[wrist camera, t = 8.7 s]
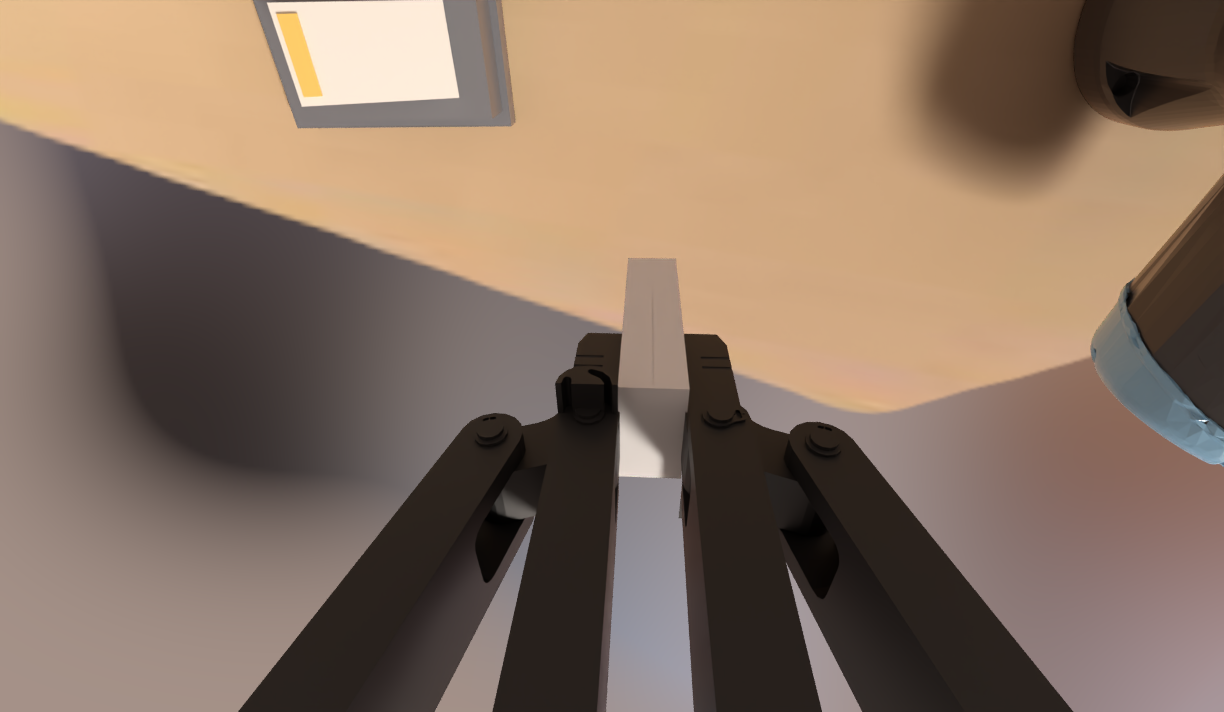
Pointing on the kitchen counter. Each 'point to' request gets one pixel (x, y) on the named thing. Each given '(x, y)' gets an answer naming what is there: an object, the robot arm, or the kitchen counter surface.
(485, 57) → the switch unit
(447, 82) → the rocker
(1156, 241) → the kitchen counter surface
